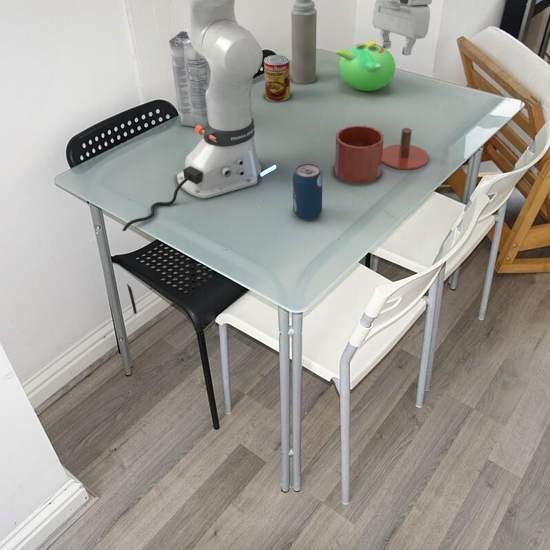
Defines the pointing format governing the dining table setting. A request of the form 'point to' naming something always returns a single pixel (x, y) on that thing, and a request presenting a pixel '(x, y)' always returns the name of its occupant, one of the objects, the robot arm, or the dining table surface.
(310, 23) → the thermos bottle
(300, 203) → the soda can
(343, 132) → the pot
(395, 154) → the lid
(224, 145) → the robot arm
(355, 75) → the toy bird
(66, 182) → the dining table surface
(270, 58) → the canned food
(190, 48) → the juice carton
